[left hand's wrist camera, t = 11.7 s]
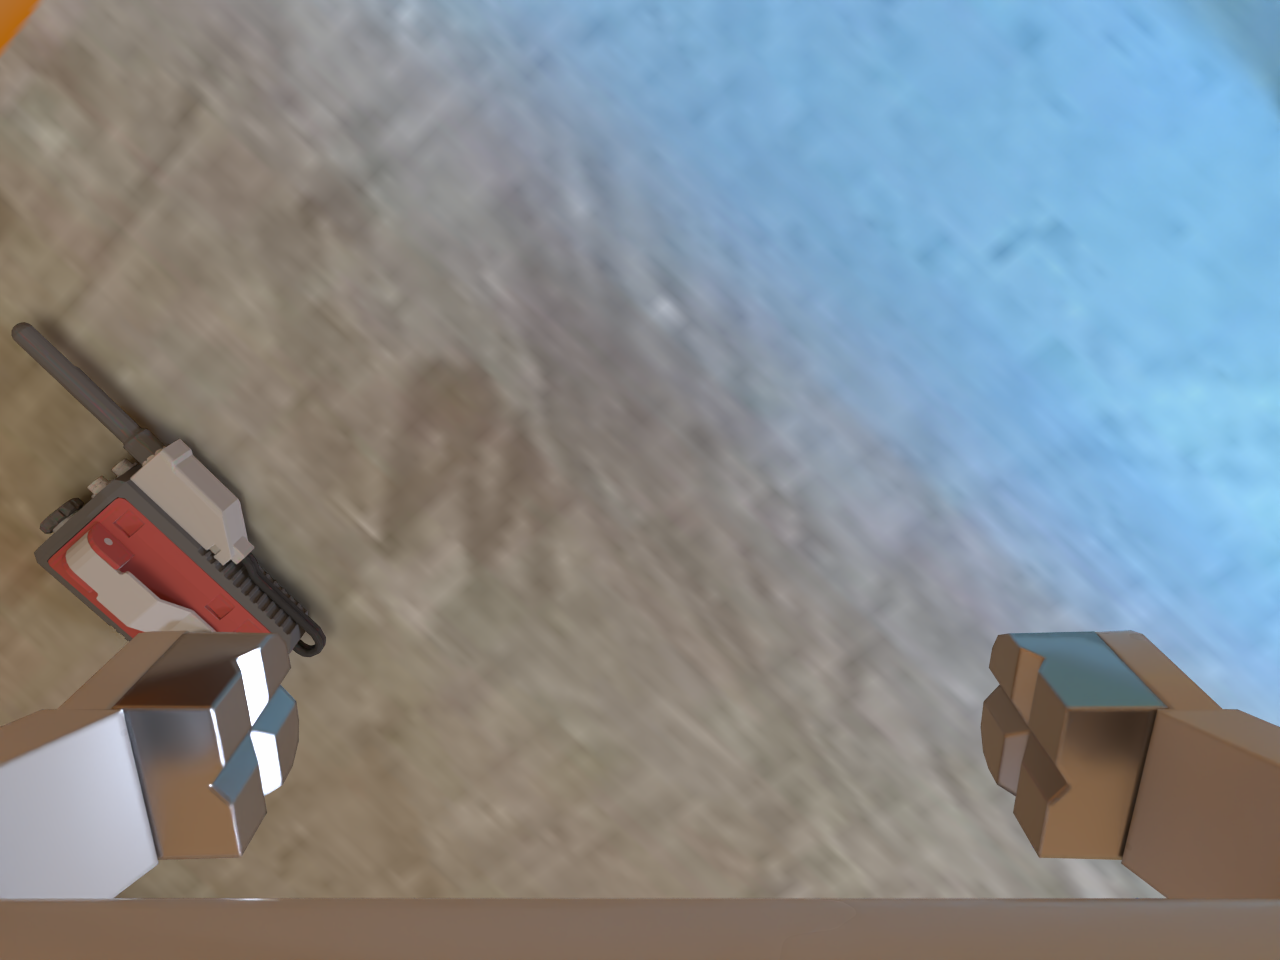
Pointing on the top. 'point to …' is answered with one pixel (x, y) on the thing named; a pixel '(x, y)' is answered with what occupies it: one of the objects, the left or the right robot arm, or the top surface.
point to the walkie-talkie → (159, 536)
